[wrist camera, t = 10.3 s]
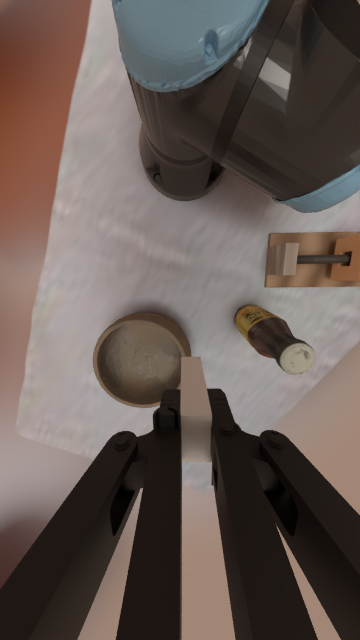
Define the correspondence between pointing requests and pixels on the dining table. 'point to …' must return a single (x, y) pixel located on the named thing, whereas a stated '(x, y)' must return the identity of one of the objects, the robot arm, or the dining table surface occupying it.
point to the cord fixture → (305, 260)
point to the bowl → (140, 358)
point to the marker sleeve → (347, 271)
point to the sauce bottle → (274, 339)
